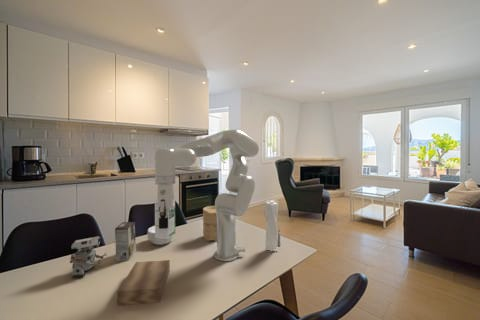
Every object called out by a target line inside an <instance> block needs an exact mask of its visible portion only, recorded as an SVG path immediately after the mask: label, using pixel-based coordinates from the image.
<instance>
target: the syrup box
mask: <svg viewBox="0 0 480 320" xmlns="http://www.w3.org/2000/svg"><path fill="white" fill-rule="evenodd" d="M172 201H173V208H172V209H171V210H170V211H169V210H168V211H167V218H168V228H167V229H159V213H160V211H159V210H158V206H157V200H156V201H154V226H155V238H159V239H169V238H170V237H172V236H173V235H175V236H176V199H175V198H174V199H173V200H172ZM159 208H160V207H159ZM164 209H166V208H164ZM165 213H166V212H165ZM165 215H166V214H165Z"/></svg>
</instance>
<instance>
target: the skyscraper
mask: <svg viewBox="0 0 480 320" xmlns="http://www.w3.org/2000/svg"><path fill="white" fill-rule="evenodd" d="M279 205H280V203H279V201H278V200H277V199H269V200H265V201H264V209H265V210H264V211H265V213H264V215H265V223H266V226H265V251H266V250H272V251H275V249H276V247H277V246H278V247H280V246H281V228H280V224H279V225H278V226H277V221H278V216H279ZM281 247H282V246H281ZM272 251H271V252H272Z"/></svg>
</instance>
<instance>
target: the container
mask: <svg viewBox="0 0 480 320" xmlns="http://www.w3.org/2000/svg"><path fill="white" fill-rule="evenodd" d="M202 213H203V214H202V223H203V224H202V227H203V229H202V234H203V239H204V241H206V242H210V241H215V242H217V214H216V209H215V205H207V206H205V207H203V208H202Z"/></svg>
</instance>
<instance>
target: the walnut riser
mask: <svg viewBox="0 0 480 320" xmlns="http://www.w3.org/2000/svg"><path fill="white" fill-rule="evenodd" d="M170 262H171V261H170V259H168V260H167V259H165V260H164V259H162V260H150V261H149V260H148V261H136V262H135V264H134V265H133V267H132V268H131V269H130V271H129V273H128V274H127V276H126V277H125V279H124V280H123V281H122V284H120V287H119V288H118V290H117V292H116V293H117V306H126V305H128V306H131V305H139V304H150V303H160V302H161V299H162V296H163V293H164V290H165V287H166V284H167V282H168V281H167V280H168V277H169V275H170V271H171V269H170V268H171V267H170V266H171V265H170Z"/></svg>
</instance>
